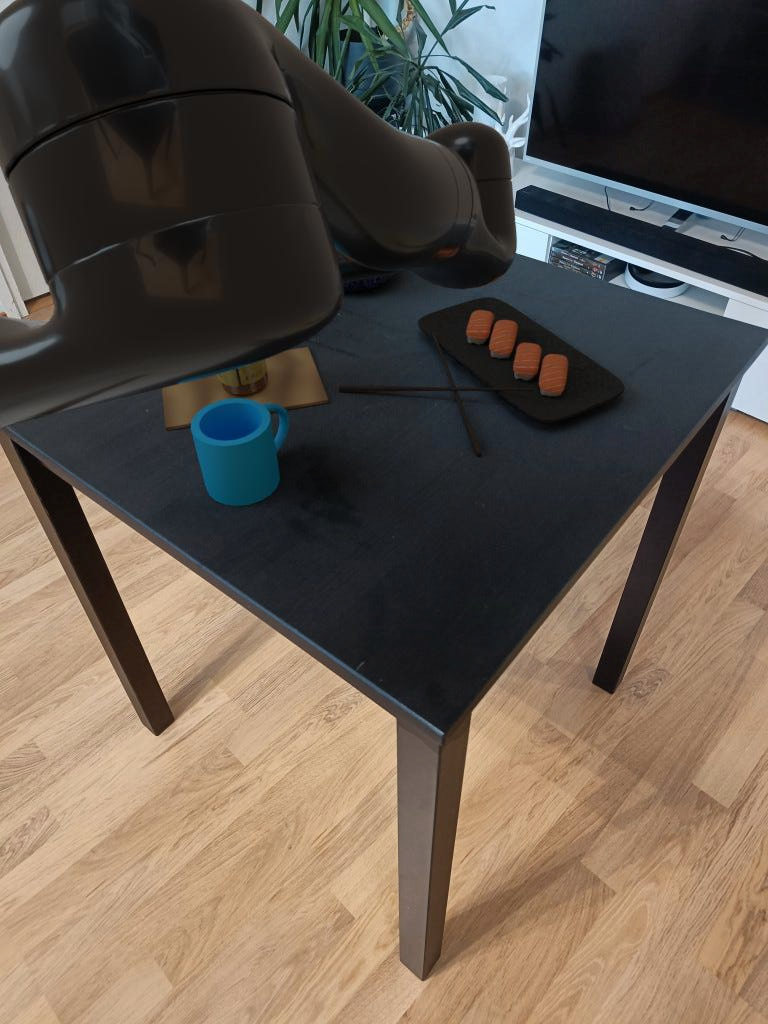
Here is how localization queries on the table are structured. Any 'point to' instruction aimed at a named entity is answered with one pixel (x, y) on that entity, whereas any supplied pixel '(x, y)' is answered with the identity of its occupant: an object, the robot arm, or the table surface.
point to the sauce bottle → (245, 379)
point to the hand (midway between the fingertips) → (201, 269)
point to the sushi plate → (513, 362)
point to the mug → (239, 449)
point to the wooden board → (286, 386)
